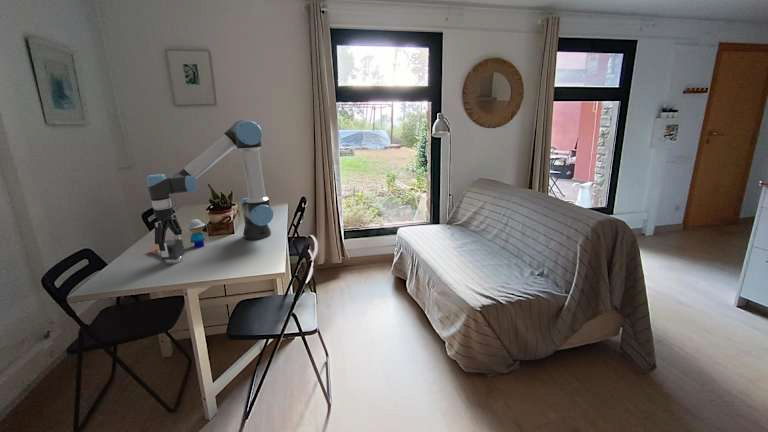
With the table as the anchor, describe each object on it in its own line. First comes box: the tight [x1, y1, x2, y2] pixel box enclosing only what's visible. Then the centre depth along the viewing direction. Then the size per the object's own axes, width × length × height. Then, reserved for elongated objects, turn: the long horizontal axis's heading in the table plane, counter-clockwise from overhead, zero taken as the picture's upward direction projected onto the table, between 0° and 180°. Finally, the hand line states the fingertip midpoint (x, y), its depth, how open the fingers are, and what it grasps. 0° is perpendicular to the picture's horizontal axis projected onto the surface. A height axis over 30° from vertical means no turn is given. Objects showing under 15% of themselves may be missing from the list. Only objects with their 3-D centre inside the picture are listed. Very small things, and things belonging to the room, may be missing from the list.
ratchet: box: [149, 244, 184, 265], centre depth 172 cm, size 28×7×6 cm, turn 51°
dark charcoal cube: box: [159, 238, 186, 261], centre depth 165 cm, size 7×7×8 cm
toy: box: [186, 219, 208, 248], centre depth 185 cm, size 8×9×15 cm
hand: (172, 251), depth 165 cm, fingers open, 11 cm apart
